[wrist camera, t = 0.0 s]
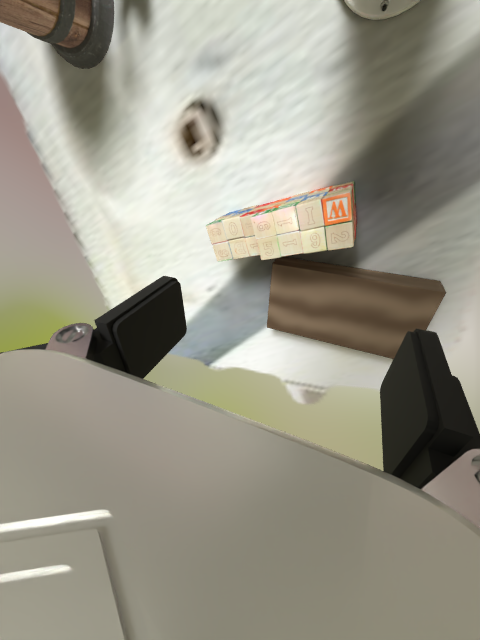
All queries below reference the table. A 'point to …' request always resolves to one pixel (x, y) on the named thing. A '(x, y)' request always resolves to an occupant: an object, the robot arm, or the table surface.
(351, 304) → the plinth
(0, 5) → the tankard
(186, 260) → the table surface
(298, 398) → the table surface
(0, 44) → the table surface
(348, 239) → the stack of blocks
